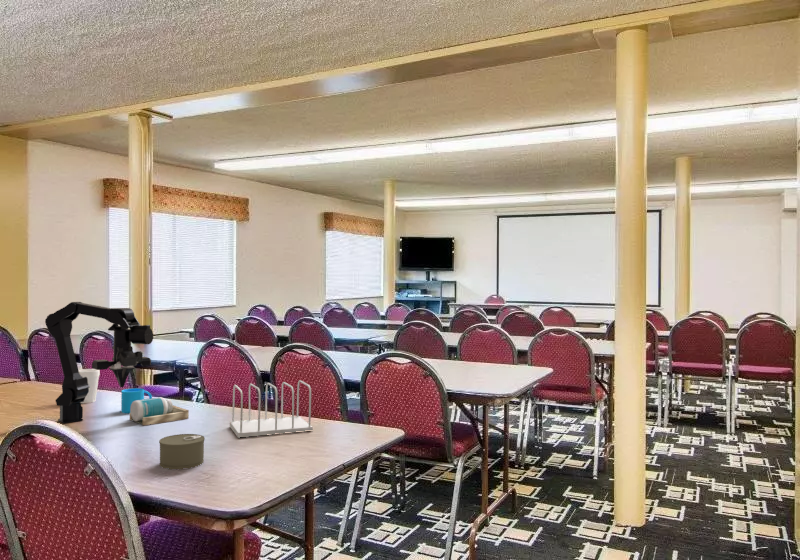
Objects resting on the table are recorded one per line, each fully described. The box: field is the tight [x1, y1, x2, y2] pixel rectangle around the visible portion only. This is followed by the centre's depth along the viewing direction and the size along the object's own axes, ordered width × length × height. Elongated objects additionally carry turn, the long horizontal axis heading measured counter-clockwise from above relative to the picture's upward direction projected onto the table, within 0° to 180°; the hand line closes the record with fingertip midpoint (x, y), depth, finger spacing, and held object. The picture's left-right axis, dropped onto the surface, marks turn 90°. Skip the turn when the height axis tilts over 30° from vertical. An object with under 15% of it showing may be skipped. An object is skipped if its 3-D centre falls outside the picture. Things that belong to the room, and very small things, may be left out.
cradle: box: [129, 405, 190, 426], centre depth 231 cm, size 16×12×3 cm
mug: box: [120, 387, 153, 414], centre depth 246 cm, size 12×8×8 cm
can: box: [159, 433, 205, 470], centre depth 176 cm, size 12×12×7 cm
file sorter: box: [229, 380, 314, 439], centre depth 216 cm, size 25×17×16 cm
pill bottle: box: [130, 396, 173, 422], centre depth 230 cm, size 8×7×14 cm
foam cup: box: [78, 368, 101, 404], centre depth 262 cm, size 10×9×13 cm
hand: (121, 387), depth 224 cm, fingers closed
